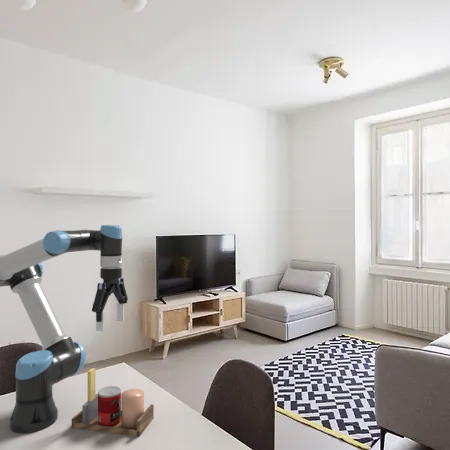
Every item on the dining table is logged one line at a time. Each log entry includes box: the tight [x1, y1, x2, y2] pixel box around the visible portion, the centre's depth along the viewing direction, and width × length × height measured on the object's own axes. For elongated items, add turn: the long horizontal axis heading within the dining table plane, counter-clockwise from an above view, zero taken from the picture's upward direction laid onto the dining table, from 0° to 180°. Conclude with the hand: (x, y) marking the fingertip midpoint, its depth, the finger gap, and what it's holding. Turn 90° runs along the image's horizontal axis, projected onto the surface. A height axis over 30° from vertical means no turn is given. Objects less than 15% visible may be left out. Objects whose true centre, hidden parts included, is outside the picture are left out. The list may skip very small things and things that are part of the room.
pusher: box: [81, 367, 98, 424], centre depth 133 cm, size 1×9×18 cm, turn 168°
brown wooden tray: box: [71, 404, 155, 438], centre depth 131 cm, size 25×12×6 cm, turn 78°
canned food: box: [97, 385, 122, 427], centre depth 132 cm, size 8×8×11 cm
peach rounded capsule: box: [121, 388, 145, 430], centre depth 130 cm, size 8×8×11 cm
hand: (110, 325), depth 137 cm, fingers open, 13 cm apart
